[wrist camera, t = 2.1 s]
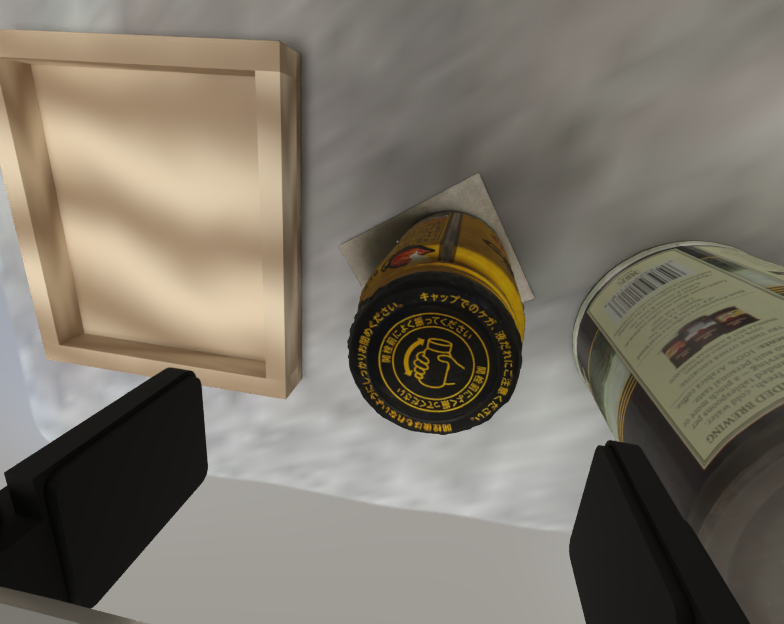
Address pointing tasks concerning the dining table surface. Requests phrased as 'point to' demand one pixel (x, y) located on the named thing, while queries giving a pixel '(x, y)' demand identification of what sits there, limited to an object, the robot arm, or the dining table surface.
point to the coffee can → (700, 397)
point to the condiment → (438, 313)
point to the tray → (158, 201)
